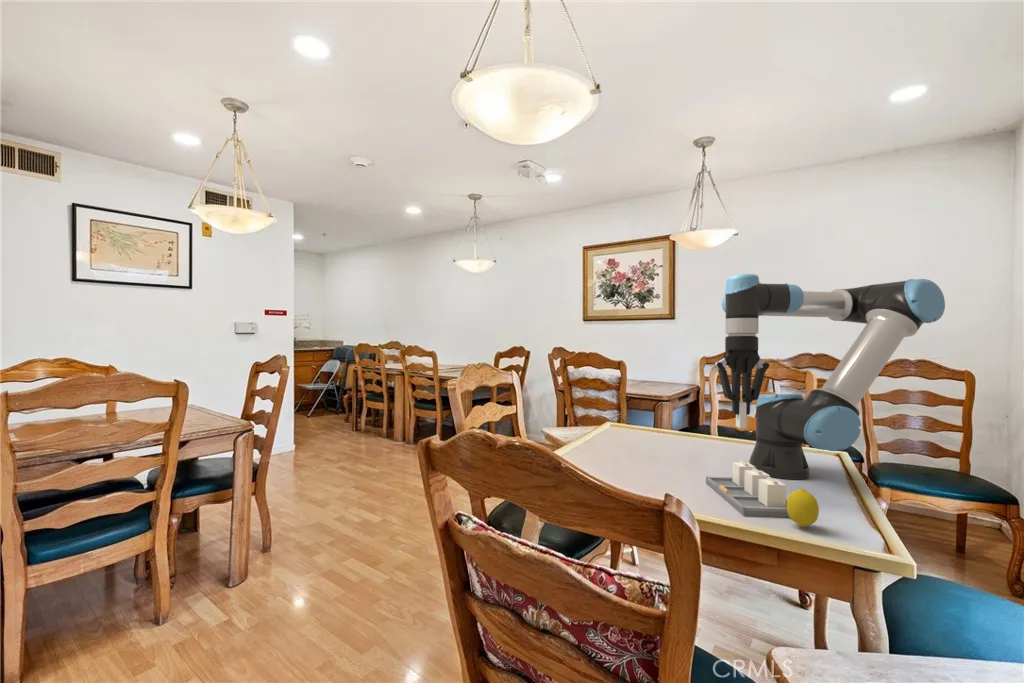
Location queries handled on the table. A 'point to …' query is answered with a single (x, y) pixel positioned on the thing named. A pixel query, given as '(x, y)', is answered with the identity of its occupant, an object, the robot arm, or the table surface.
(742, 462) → the tab
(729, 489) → the frame
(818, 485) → the table surface
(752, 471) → the cream ridged block
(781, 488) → the tab
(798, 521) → the lemon
